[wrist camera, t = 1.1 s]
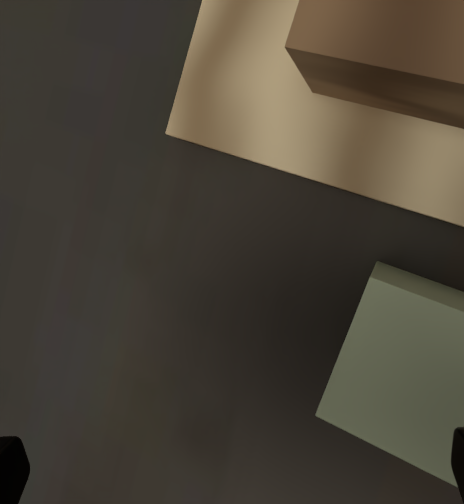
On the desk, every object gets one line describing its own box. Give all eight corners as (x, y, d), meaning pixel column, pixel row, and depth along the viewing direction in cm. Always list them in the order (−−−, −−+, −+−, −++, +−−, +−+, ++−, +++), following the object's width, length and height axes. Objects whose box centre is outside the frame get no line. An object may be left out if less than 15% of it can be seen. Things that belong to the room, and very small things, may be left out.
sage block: (499, 304, 17) (551, 344, 11) (449, 410, 18) (475, 496, 12) (376, 260, 18) (369, 276, 13) (337, 360, 19) (315, 415, 14)
